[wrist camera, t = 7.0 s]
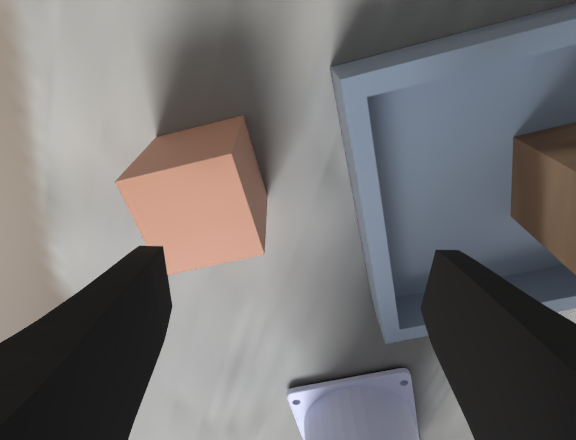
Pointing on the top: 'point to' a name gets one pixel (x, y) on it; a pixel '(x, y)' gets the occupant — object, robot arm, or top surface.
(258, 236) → the terracotta block
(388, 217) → the tray
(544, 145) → the tan block
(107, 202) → the top surface
